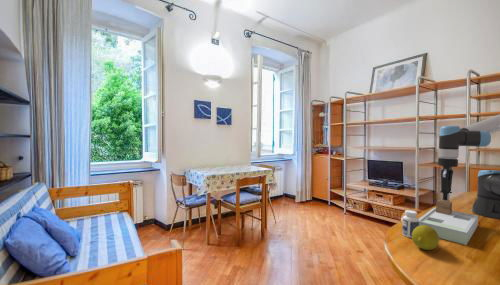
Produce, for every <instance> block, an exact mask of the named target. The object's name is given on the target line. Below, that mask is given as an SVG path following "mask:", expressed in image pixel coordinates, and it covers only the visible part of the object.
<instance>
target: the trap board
mask: <svg viewBox="0 0 500 285" xmlns="http://www.w3.org/2000/svg"><path fill="white" fill-rule="evenodd" d="M418 219H419V226H421V225H426V226H430V227H431V228H433V229H434V230H435V231H436V232H437V234H438V236H439V239H442V240H446V241H449V242H453V243H457V244H461V245H464V246H467V245H468V243H469V242H470V240H471V238H472V236H473V234H474V232H476V229H477V228H478V222H479V215H478V214H471V213H464V212H460V211H455V210H452V213H451V214H450V215H447V214H443V213H438V212H436V206H435V207H433V208H432V209H430V210H428V212H426V213H425V214H423V215H421V216H420V217H419V218H418Z"/></svg>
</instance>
